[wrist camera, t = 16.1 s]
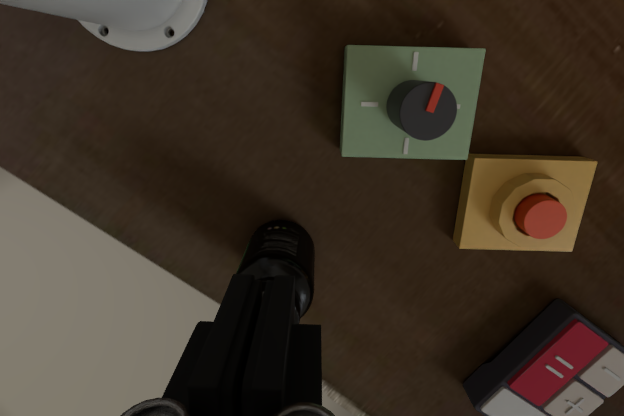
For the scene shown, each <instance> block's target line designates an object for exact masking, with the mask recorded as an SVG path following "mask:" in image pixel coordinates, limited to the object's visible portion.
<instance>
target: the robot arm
mask: <svg viewBox="0 0 624 416" xmlns="http://www.w3.org/2000/svg"><path fill="white" fill-rule="evenodd" d="M206 3H207V0H0V4H5V5H10V6H14V7H19V8H24V9H29V10H34V11H38V12H43V13H48V14H53V15H57V16H62V17H67V18H72V19H77V20H78V21H79V22H80V23H81V24H82V25H83V26H84V27H85V28H86V29H87V30H88V31H90V32H91V33H92V34H93V35H95V36H96V37H97V38H99V39H101V40H103V41H105V42H107V43H108V44H110V45H113V46H116V47H119V48H122V49H125V50H132V51H149V52H150V51H155V50H161V49H164V48H167V47H169V46H172V45H174V44H176V43H177V42H179V41H180V40H181V39H183V38H184V37H186V36H187V35H188V34H189V33H190V31H191V30H192V29H193V28H194V27H195V26H196V24H197V23H198V21H199V19H200V17H201V16H202V14H203V12H204V9H205V6H206ZM107 29H108V30H109V32H108V34H107V32H106V30H107ZM171 30H174V36H171V34H170V31H171ZM121 416H335V415H334V414H333V413H332V412H331V411H329V410H328V409H326V408H325V407H323V406H322V369H321V325H308V324H295V276H283V275H275V277H274V280H267V282H266V286H265V290H264V294H263V299H262V281H261V280H255V276H254V275H248V274H234V275H233V276H232V279H231V281H230V284H229V286H228V288H227V291H226V293H225V296H224V298H223V300H222V303H221V305H220V308H219V310H218V312H217V315H216V318H215V320H214V322H206V321H200V322H198V324H197V325H196V327H195V329H194V331H193V333H192V335H191V338H190V339H189V342H188V344H187V346H186V348H185V350H184V352H183V354H182V357H181V358H180V360H179V363H178V365H177V367H176V369H175V371H174V373H173V375H172V377H171V379H170V381H169V384H168V386H167V388H166V390H165V392H164V395H163V396H162V398H155V399H150V400H146V401H143V402H141V403H139V404H137V405H134V406H133V407H131V408H130V409H128V410H127V411H126V412H124V413H123V414H122V415H121Z"/></svg>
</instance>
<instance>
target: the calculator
mask: <svg viewBox="0 0 624 416" xmlns="http://www.w3.org/2000/svg"><path fill="white" fill-rule="evenodd" d="M623 385H624V346H623V345H621V344H620V343H619V342H617V341H616V340H615V339H613V338H612V337H611V336H609V335H608V334H607V333H605V332H604V331H603V330H601V329H600V328H599V327H597V326H596V325H595V324H593V323H592V322H591V321H589V320H588V319H587V318H585V317H584V316H583V315H581V314H580V313H579V312H577V311H576V310H575V309H573V308H572V307H571V306H569V305H568V304H567V303H565V302H564V301H563V300H561V299H556V300H554V301H553V302H552V303H551V304H550V305H549V306H548V307H547V308H546V309H545V310H544V311H543V312H542V313H541V314H540V315H539V316H538V317H537V318H536V319H535V320H534V321H533V322H532V323H531V324H530V325H529V326H528V327H527V328H526V329H525V330H524V331H522V332H521V333H520V334H519V335H518V336H517V337H516V338H515V339H514V340H513V341H512V342H511V343H510V344H509V345H508V346H507V347H506V348H505V349H504V350H503V351H502V352H501V353H500V354H499V355H498V356H497V357H496V358H495V359H494V360H493V361H492V362H490V363H486V364H482V365H481V366H480V367H479V368H478V369H477V370H476V371H475V372H474V373H473V374H472V375H471V376H470V377H469V378H468V379H467V380H466V381H465V382H464V383H463V387H464V389H465V391H466V393H467V395H468V397H469V399H470V401H471V403H472V404H473V406H474V408H475V409H476V410H477V411H478V412H480V413H482V414H483V415H485V416H588V415H589V414H590V413H592V412H593V411H594V410H595V409H596V408H597V407H599V406H600V405H601V404H602V403H603V402H604V401H603V399H604V398H606V397H610V396H611V395H613V394H614V393H615V392H616V391H617V390H619V389H620V388H621V387H622V386H623Z"/></svg>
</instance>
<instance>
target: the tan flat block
mask: <svg viewBox="0 0 624 416" xmlns="http://www.w3.org/2000/svg"><path fill="white" fill-rule="evenodd" d="M596 165H597V161H595V160H592V159H589V158H586V157H578V156H541V155H503V154H468V159H467V160H466V162H465V168H464V174H463V180H462V186H461V192H460V198H459V205H458V211H457V217H456V223H455V229H454V235H453V241H454V242H455V244H456V245H457V246H458V247H459V248H460V249H494V250H529V251H565V252H572V250H573V247H574V243H575V240H576V236H577V232H578V229H579V225H580V222H581V218H582V215H583V211H584V208H585V204H586V201H587V197H588V194H589V190H590V187H591V183H592V179H593V176H594V172H595V169H596ZM534 194H543V195H547V196H549V197H550V198H552V199H554V200H556V201H558V202H559V203H561V204H562V205H563V206H564V207H565V209H566V212H567V220H566V223H565V225H564V227H563V228H562V230H561V231H560V232H559V233H557V234H556V235H554V236H553V237H550V238H547V239H536V238H533V237H531V236H530V235H528V234H527V233H526V232H524V231H523V230H522V229H521V228H519V227H518V225H517V224H516V222H515V218H514V215H515V210H516V208H517V206H518V205H519V203H520V202H521V201H522V200H523V199H525V198H526V197H528V196H531V195H534Z"/></svg>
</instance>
